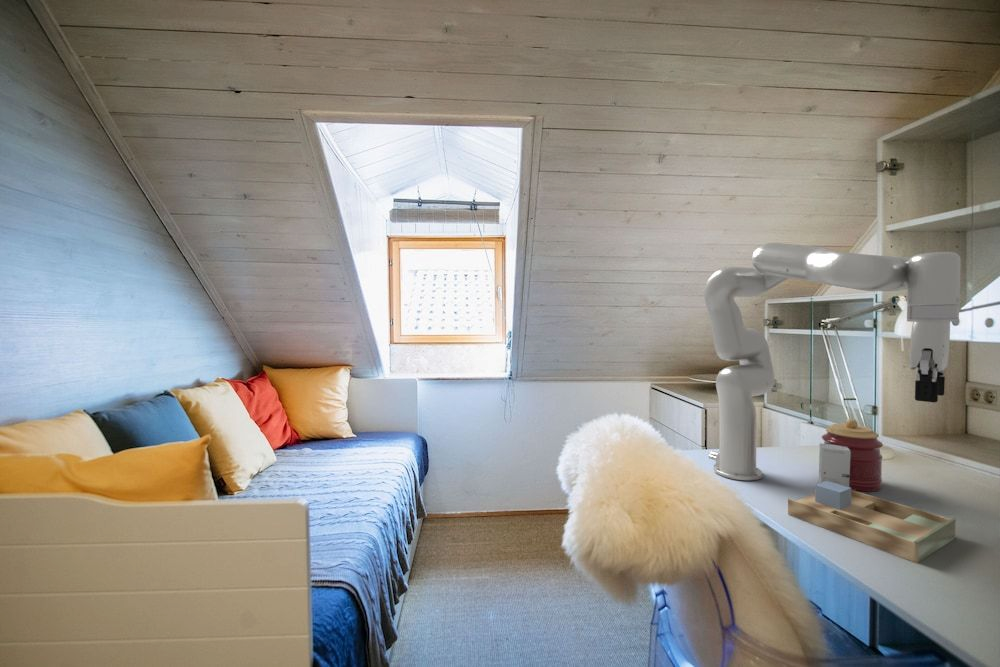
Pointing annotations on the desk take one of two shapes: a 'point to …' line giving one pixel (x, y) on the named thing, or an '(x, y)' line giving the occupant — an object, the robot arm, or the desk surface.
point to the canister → (859, 453)
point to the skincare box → (834, 464)
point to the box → (880, 524)
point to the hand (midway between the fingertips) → (929, 397)
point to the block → (833, 495)
